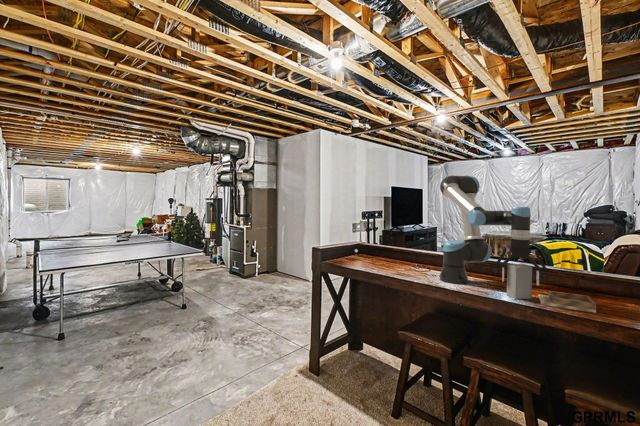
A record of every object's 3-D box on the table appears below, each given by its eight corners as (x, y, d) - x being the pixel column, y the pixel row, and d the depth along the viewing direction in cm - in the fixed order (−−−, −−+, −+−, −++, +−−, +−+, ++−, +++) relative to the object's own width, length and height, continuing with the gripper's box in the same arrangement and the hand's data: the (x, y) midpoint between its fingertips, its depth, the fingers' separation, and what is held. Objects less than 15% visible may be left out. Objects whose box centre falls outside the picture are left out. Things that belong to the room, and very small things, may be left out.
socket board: (541, 304, 128) (541, 296, 127) (538, 296, 138) (538, 289, 138) (595, 312, 118) (596, 304, 118) (588, 303, 129) (588, 295, 129)
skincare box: (521, 295, 141) (522, 263, 141) (533, 299, 134) (534, 266, 133) (505, 295, 141) (506, 263, 140) (515, 299, 134) (516, 266, 133)
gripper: (489, 237, 140) (489, 280, 140) (555, 241, 127) (554, 288, 127) (490, 236, 146) (490, 277, 147) (552, 239, 133) (551, 284, 133)
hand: (519, 282), depth 137 cm, fingers open, 13 cm apart
